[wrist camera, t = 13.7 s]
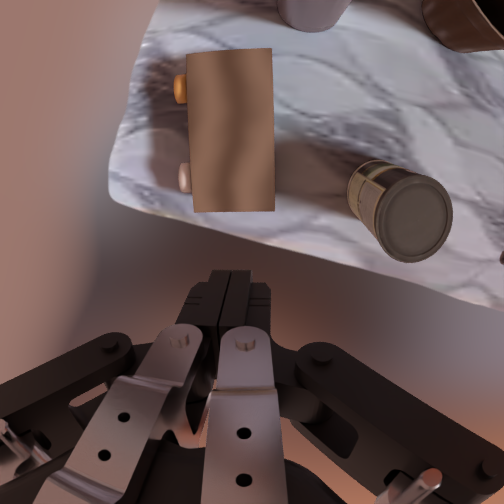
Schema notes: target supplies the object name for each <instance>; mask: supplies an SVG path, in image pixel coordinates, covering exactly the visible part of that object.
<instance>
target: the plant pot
mask: <svg viewBox="0 0 504 504" xmlns="http://www.w3.org/2000/svg"><path fill="white" fill-rule="evenodd" d="M422 12H423V16H424V19H425V22H426V24H427V26H428V27H429V29H430V30H431V32H432V33H433V34H434V35H435V36H437V37H438V38H439V39H440V41H441V42H442V44H444V45H445V46H446V47H448V48H450V49H451V50H454V51H456V52H460V53H471V52H479V51H489V50H504V0H423V2H422Z"/></svg>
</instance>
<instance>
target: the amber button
mask: <svg viewBox="0 0 504 504" xmlns="http://www.w3.org/2000/svg"><path fill="white" fill-rule="evenodd" d="M174 95H175V99H176V101H177V103H178V104H182V103H187V74H181V75H176V77H175V79H174Z"/></svg>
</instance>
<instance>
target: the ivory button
mask: <svg viewBox="0 0 504 504" xmlns="http://www.w3.org/2000/svg"><path fill="white" fill-rule="evenodd" d="M179 186H180V189H181V191H182V193H189V192H192V181H191V167H190V162H189V163H181V165H180V167H179Z"/></svg>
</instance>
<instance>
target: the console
mask: <svg viewBox="0 0 504 504" xmlns="http://www.w3.org/2000/svg"><path fill="white" fill-rule="evenodd" d="M186 73H187V109H188V132H189V150H190V167H191V181H192V194H193V206H194V213H196V212H252V211H275V160H274V106H273V70H272V48H257V49H235V50H222V51H211V52H202V53H194V54H186Z"/></svg>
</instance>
